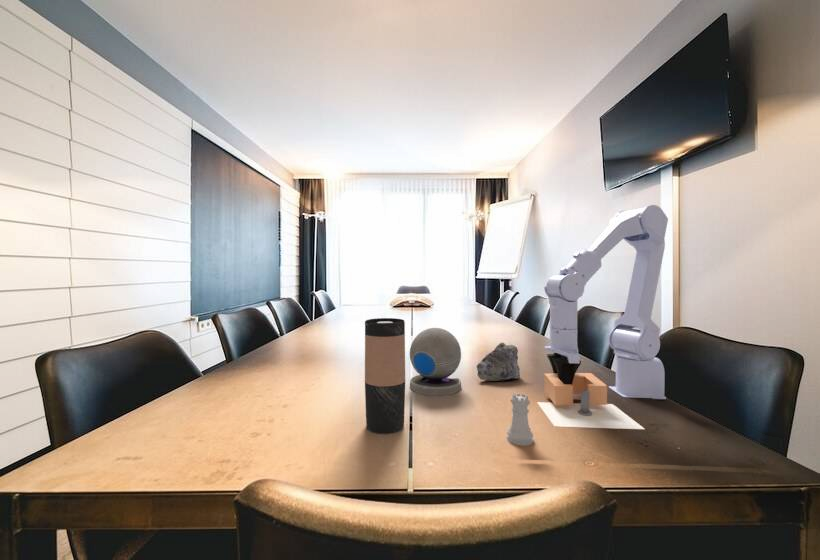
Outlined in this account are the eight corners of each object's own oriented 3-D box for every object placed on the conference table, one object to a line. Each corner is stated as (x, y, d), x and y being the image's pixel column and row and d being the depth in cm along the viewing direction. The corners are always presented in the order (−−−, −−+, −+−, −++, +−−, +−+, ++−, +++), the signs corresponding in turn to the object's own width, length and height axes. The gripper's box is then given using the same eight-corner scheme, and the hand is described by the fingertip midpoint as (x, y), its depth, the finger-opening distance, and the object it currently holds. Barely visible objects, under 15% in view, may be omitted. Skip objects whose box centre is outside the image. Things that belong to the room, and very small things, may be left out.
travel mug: (410, 420, 74) (410, 318, 73) (396, 437, 66) (396, 324, 66) (375, 416, 76) (374, 317, 76) (357, 431, 69) (357, 322, 68)
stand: (612, 406, 81) (612, 383, 81) (645, 431, 68) (645, 404, 68) (536, 404, 83) (537, 381, 82) (554, 429, 70) (554, 402, 70)
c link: (606, 404, 77) (606, 385, 77) (555, 404, 78) (554, 386, 78) (590, 390, 86) (590, 373, 85) (544, 390, 87) (543, 373, 86)
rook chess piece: (535, 449, 62) (535, 401, 61) (507, 447, 63) (507, 399, 62) (532, 437, 66) (532, 392, 66) (505, 435, 67) (506, 391, 67)
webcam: (469, 384, 97) (469, 326, 97) (446, 398, 87) (446, 333, 86) (425, 377, 104) (425, 323, 104) (399, 389, 93) (399, 329, 93)
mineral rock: (478, 385, 97) (478, 346, 97) (470, 374, 108) (470, 339, 107) (527, 385, 97) (528, 346, 97) (515, 373, 108) (515, 339, 108)
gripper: (537, 323, 92) (536, 378, 93) (555, 332, 78) (554, 398, 78) (566, 323, 92) (566, 378, 92) (590, 333, 77) (589, 398, 78)
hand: (563, 387), depth 85 cm, fingers closed on c link, 2 cm apart
